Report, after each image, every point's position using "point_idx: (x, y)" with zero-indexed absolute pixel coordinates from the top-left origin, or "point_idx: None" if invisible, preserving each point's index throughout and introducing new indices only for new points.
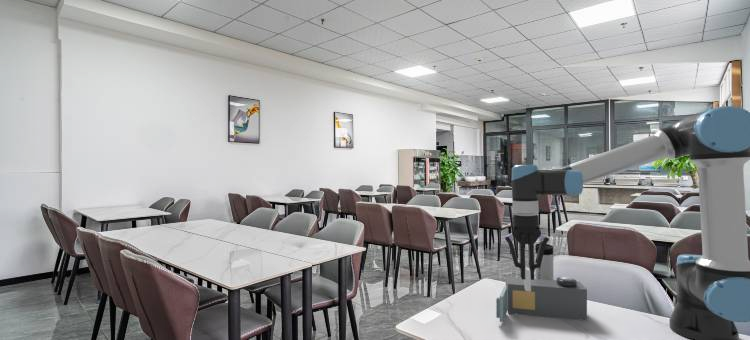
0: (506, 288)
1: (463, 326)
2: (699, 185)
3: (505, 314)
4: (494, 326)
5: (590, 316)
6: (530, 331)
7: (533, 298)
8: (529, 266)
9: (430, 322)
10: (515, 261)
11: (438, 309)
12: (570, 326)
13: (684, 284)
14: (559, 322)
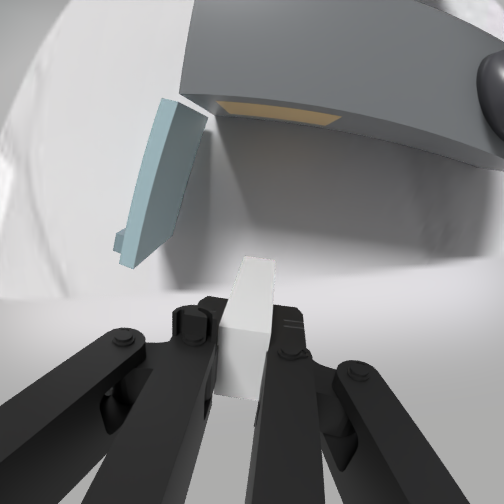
0: (170, 127)
1: (66, 255)
2: None
3: (190, 168)
4: None
5: None
6: None
7: (327, 118)
8: (261, 385)
9: (3, 239)
10: (106, 422)
11: (9, 141)
12: (413, 216)
13: None
14: (391, 184)
